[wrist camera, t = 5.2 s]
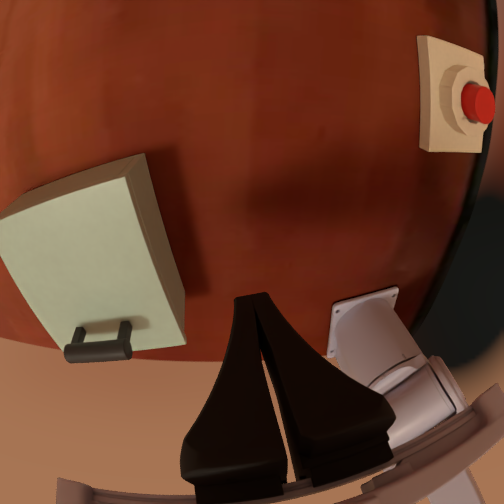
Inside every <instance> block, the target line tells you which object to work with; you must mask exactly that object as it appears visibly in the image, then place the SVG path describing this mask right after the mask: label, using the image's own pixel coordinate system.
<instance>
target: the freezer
mask: <svg viewBox="0 0 504 504" xmlns="http://www.w3.org/2000/svg"><path fill="white" fill-rule="evenodd" d="M125 173H128V175H129V178H130V182H131V185H132V189H133V192H134V196H135V199H136V202H137V206H138V209H139V212H140V215H141V219H142V222H143V225H144V228H145V231H146V234H147V237H148V240H149V243H150V246H151V249H152V251H153V254H154V257H155V260H156V263H157V265H158V268H159V271H160V274H161V276H162V279H163V282H164V284H165V287H166V289H167V292H168V294H169V297H170V300H171V302H172V304H173V307H174V309H175V312H176V314H177V317H178V319H179V321H180V324H181V326H182V328H183V331H184V312H185V290H184V287H183V284H182V281H181V278H180V275H179V272H178V269H177V266H176V263H175V260H174V257H173V254H172V251H171V248H170V244H169V241H168V238H167V234H166V231H165V228H164V224H163V221H162V217H161V214H160V210H159V207H158V203H157V200H156V196H155V192H154V189H153V185H152V181H151V177H150V173H149V169H148V165H147V161H146V157H145V153H141V154H138V155H134V156H130V157H127V158H123V159H120V160H116V161H113V162H109V163H106V164H103V165H100V166H97V167H94V168H90V169H87V170H84V171H81V172H79V173H76V174H73V175H70V176H67V177H64V178H62V179H59V180H56V181H54V182H51V183H49V184H46V185H44V186H41V187H39V188H36V189H34V190H31V191H29V192H27V193H24V194H22V195H21V196H20V197H18V198H17V199H16V200H15V201H14V202H13V203H11V204H10V205H9V206H8V207H7V208H6V209H4V210H3V211H2V212H1V213H0V217H2V216H5V215H7V214H9V213H12V212H14V211H16V210H19V209H21V208H24V207H26V206H29V205H31V204H34V203H36V202H39V201H41V200H44V199H47V198H49V197H52V196H55V195H58V194H61V193H63V192H66V191H69V190H72V189H75V188H78V187H81V186H84V185H88V184H91V183H94V182H97V181H101V180H104V179H107V178H111V177H114V176H118V175H121V174H125Z"/></svg>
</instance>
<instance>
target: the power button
mask: <svg viewBox="0 0 504 504" xmlns="http://www.w3.org/2000/svg"><path fill="white" fill-rule="evenodd" d="M461 107H462V110H463V113H464V114H465V116H466V117H467V118H469V119H471V120H474V121H477V122H480V123H482V124H488V123H490V122H491V121H492V119H493V117H494V113H495V101H494V97H493V94H492V92H491V91H490V90H489V89H488V88H487V87H484V86H480V85H475V84H467V85H465V86H464V87H463V90H462V92H461Z"/></svg>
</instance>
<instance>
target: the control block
mask: <svg viewBox="0 0 504 504" xmlns="http://www.w3.org/2000/svg"><path fill="white" fill-rule="evenodd" d="M417 46H418V57H419V72H420V140H419V148H421V149H424V150H426V151H428V152H472V153H481V150H482V140H483V131H485V130H486V129H487V126H488V124H482V123H480V122H477V121H474V120H471V119H469V118H467V117H466V116H465V114H464V113H463V110H462V107H461V92H462V90H463V87H464V86H465V85H467V84H475V85H480V86H484V87H487V88H488V89H489V86H488V83H487V81H486V80H485V78H484V62H483V56H482V55H479V54H477V53H475V52H472V51H470V50H468V49H465V48H462V47H460V46H457V45H455V44H452V43H449V42H446V41H443V40H440V39H437V38H434V37H431V36H428V35H424V36H417ZM489 90H490V89H489Z"/></svg>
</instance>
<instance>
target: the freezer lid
mask: <svg viewBox="0 0 504 504" xmlns="http://www.w3.org/2000/svg"><path fill="white" fill-rule="evenodd" d="M0 256H1V258H2V260H3V261H4V263H5V265H6V267H7V269H8V271H9V273H10V274H11V276H12V278H13V280H14V281H15V283H16V285H17V286H18V288H19V290H20V291H21V293H22V295H23V296H24V298H25V299H26V301H27V303H28V304H29V306H30V307H31V309H32V310H33V312H34V313H35V315H36V316H37V318H38V319H39V320H40V322H41V323H42V325H43V326H44V327H45V329H46V330H47V332H48V333H49V334H50V336H51V337H52V338H53V340H54V341H55V342H56V343H57V345H58V346H59V347H60V349H61V350H62V351H63V352H64V357H65V359H66V361H68V362H69V363H89V362H104V361H105V362H106V361H118V360H130V359H131V358H132V351H136V350H146V349H154V348H162V347H170V346H177V345H184V344H186V335H185V333H184V331H183V328H182V326H181V324H180V321H179V319H178V317H177V314H176V312H175V309H174V307H173V304H172V302H171V300H170V297H169V294H168V292H167V289H166V287H165V284H164V282H163V279H162V276H161V274H160V271H159V268H158V265H157V263H156V260H155V257H154V254H153V251H152V249H151V246H150V243H149V240H148V237H147V234H146V231H145V228H144V225H143V222H142V219H141V215H140V212H139V209H138V206H137V202H136V199H135V196H134V192H133V189H132V185H131V182H130V178H129V175H128V173H125V174H121V175H118V176H114V177H111V178H107V179H104V180H101V181H97V182H94V183H91V184H88V185H84V186H81V187H78V188H75V189H72V190H69V191H66V192H63V193H61V194H58V195H55V196H52V197H49V198H47V199H44V200H41V201H39V202H36V203H34V204H31V205H29V206H26V207H24V208H21V209H19V210H16V211H14V212H12V213H9V214H7V215H5V216H2V217H0Z"/></svg>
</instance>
